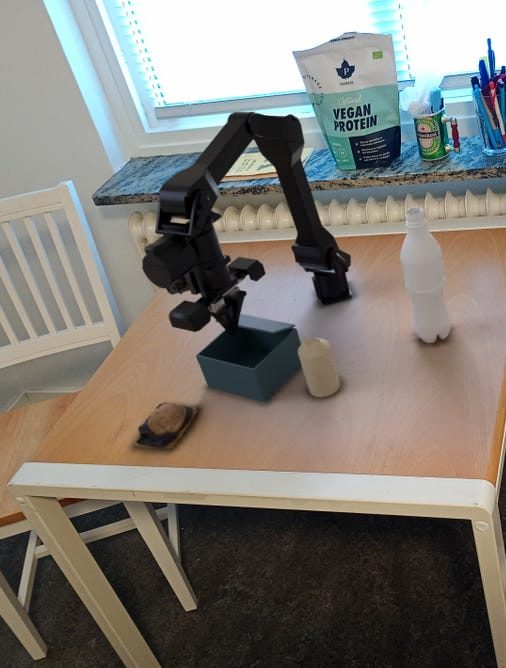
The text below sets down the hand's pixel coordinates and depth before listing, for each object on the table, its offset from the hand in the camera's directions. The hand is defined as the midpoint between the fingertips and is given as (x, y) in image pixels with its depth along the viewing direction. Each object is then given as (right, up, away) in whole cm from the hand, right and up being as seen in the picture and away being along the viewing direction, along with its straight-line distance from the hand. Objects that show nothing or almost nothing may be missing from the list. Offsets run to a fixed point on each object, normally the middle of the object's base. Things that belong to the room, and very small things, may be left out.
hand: (233, 333), depth 126 cm
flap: (+3, +2, +4) cm, 6 cm away
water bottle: (+36, 0, +7) cm, 36 cm away
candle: (+16, -10, +1) cm, 19 cm away
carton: (+3, -7, +8) cm, 11 cm away
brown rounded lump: (-11, -16, 0) cm, 20 cm away
